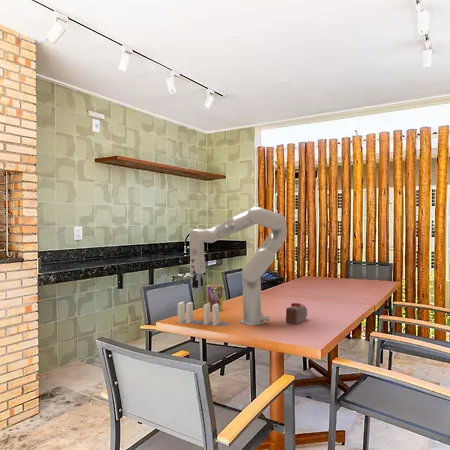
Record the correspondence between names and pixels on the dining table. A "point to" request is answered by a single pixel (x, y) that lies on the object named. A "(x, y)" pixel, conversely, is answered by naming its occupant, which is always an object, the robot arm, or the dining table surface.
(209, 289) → the candy box
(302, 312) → the food item
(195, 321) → the mat
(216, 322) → the domino
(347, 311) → the dining table surface
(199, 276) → the slate domino
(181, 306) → the domino
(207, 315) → the domino
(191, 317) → the domino
